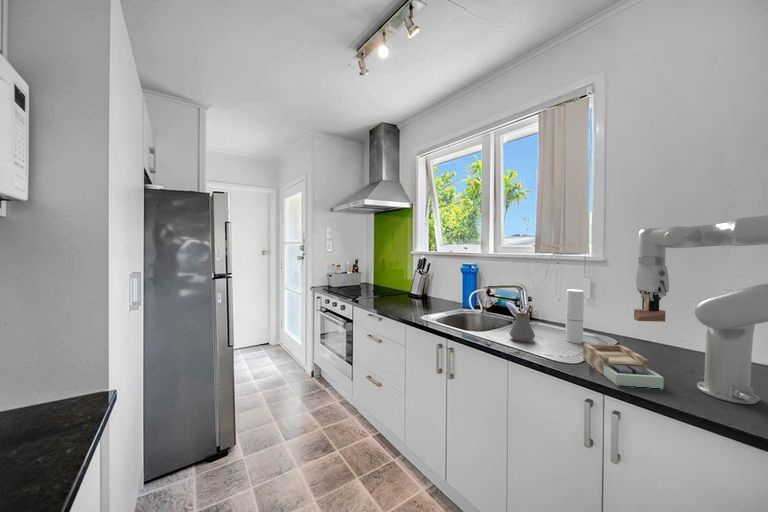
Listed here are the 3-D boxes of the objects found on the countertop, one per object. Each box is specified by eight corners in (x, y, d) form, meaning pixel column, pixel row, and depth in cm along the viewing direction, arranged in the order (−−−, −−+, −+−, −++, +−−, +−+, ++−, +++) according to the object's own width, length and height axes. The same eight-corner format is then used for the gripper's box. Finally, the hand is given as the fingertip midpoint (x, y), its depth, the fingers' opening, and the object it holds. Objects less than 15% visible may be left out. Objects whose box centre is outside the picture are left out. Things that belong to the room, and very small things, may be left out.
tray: (663, 389, 98) (663, 377, 97) (615, 386, 100) (616, 374, 100) (647, 379, 105) (647, 367, 105) (603, 376, 107) (603, 365, 107)
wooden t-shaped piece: (665, 321, 110) (665, 294, 109) (638, 321, 111) (639, 294, 110) (660, 319, 112) (660, 293, 112) (634, 319, 113) (634, 293, 113)
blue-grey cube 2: (624, 376, 105) (631, 381, 101) (611, 375, 106) (618, 381, 102) (624, 365, 105) (632, 370, 101) (612, 364, 106) (619, 369, 102)
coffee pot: (531, 345, 140) (531, 314, 139) (506, 340, 147) (506, 310, 146) (542, 334, 156) (543, 306, 155) (519, 330, 163) (520, 303, 162)
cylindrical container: (577, 338, 149) (578, 289, 148) (585, 343, 142) (587, 291, 140) (562, 338, 149) (563, 289, 148) (570, 343, 142) (571, 291, 141)
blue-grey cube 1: (641, 377, 104) (649, 383, 100) (628, 376, 105) (635, 382, 101) (641, 366, 104) (649, 371, 100) (628, 365, 105) (636, 370, 101)
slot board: (647, 379, 105) (648, 359, 105) (603, 376, 107) (603, 357, 107) (621, 362, 120) (621, 345, 119) (583, 360, 122) (583, 343, 122)
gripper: (681, 262, 102) (680, 315, 103) (646, 260, 118) (645, 305, 119) (657, 262, 103) (656, 315, 104) (625, 260, 119) (624, 305, 120)
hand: (650, 309), depth 111 cm, fingers closed on wooden t-shaped piece, 2 cm apart
